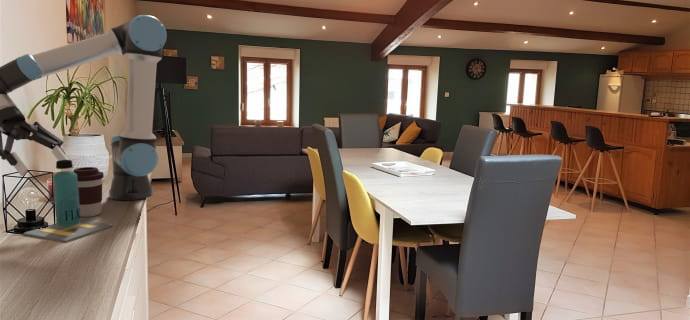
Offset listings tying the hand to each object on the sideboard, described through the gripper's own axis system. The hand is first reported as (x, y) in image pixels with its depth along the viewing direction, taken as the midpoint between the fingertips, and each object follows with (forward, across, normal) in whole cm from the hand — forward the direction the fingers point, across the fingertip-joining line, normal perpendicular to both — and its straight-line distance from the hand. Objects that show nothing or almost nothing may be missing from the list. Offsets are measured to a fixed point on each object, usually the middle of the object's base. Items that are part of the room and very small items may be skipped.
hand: (46, 168), depth 144 cm
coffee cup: (+11, -16, -14) cm, 24 cm away
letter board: (+17, 0, -8) cm, 19 cm away
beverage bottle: (+17, 0, -8) cm, 18 cm away
